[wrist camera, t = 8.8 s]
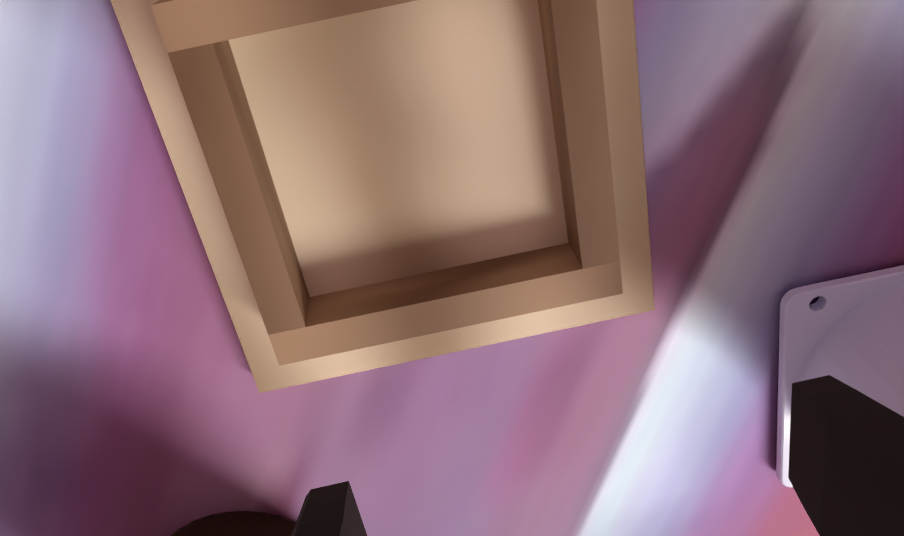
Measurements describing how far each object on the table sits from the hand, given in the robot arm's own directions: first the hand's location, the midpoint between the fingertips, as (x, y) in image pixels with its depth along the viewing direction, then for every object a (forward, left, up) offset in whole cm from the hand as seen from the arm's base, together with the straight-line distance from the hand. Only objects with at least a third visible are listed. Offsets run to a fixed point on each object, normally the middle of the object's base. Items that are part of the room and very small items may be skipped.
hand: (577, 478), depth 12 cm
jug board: (+2, -7, -10) cm, 13 cm away
